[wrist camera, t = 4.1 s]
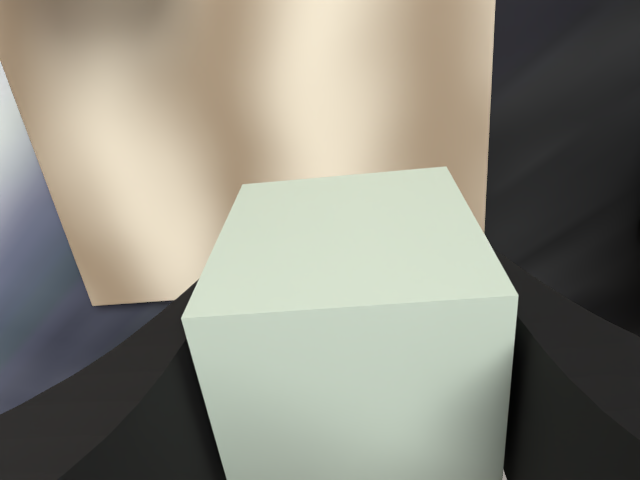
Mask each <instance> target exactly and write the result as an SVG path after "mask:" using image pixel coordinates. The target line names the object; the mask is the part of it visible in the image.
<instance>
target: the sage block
mask: <svg viewBox="0 0 640 480" xmlns="http://www.w3.org/2000/svg"><path fill="white" fill-rule="evenodd" d="M518 296H519V295H518V294H517V292H516V290H515V288H514V286H513V285H512V283H511V281H510V279H509V277H508V276H507V274H506V272H505V270H504V269H503V267H502V265H501V263H500V261H499V260H498V258H497V256H496V254H495V252H494V251H493V249H492V247H491V245H490V244H489V242H488V240H487V238H486V236H485V235H484V233H483V231H482V229H481V227H480V226H479V224H478V222H477V220H476V218H475V217H474V215H473V213H472V211H471V210H470V208H469V206H468V204H467V202H466V201H465V199H464V197H463V195H462V193H461V192H460V190H459V188H458V186H457V185H456V183H455V181H454V179H453V177H452V176H451V174H450V172H449V170H448V168H447V167H446V166H445V167H433V168H422V169H411V170H399V171H388V172H377V173H365V174H354V175H343V176H331V177H320V178H309V179H297V180H286V181H275V182H263V183H252V184H242V186H241V189H240V191H239V193H238V195H237V197H236V200H235V202H234V204H233V206H232V208H231V210H230V213H229V215H228V217H227V219H226V221H225V224H224V226H223V228H222V230H221V232H220V234H219V237H218V239H217V241H216V243H215V245H214V248H213V250H212V252H211V254H210V256H209V258H208V261H207V263H206V265H205V267H204V269H203V272H202V274H201V276H200V278H199V280H198V282H197V285H196V287H195V289H194V291H193V293H192V296H191V298H190V300H189V302H188V304H187V306H186V309H185V311H184V313H183V315H182V317H181V320H182V324H183V327H184V331H185V334H186V338H187V341H188V345H189V348H190V352H191V355H192V359H193V362H194V366H195V370H196V373H197V377H198V380H199V384H200V387H201V391H202V394H203V398H204V401H205V405H206V408H207V412H208V415H209V419H210V422H211V426H212V430H213V433H214V437H215V440H216V444H217V447H218V451H219V454H220V458H221V461H222V465H223V468H224V472H225V475H226V479H227V480H502V476H503V466H504V455H505V443H506V432H507V421H508V409H509V398H510V387H511V375H512V364H513V353H514V341H515V330H516V319H517V308H518Z"/></svg>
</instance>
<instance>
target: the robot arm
mask: <svg viewBox="0 0 640 480" xmlns="http://www.w3.org/2000/svg"><path fill="white" fill-rule="evenodd" d="M492 249H493V248H492ZM493 251H494V252H495V254H496V256H497V258H498V260H499V261H500V263H501V265H502V267H503V269H504V270H505V272H506V274H507V276H508V277H509V279H510V281H511V283H512V285H513V286H514V288H515V290H516V292H517V294H518V295H519V296H518V308H517V319H516V330H515V341H514V353H513V364H512V375H511V387H510V398H509V409H508V421H507V432H506V443H505V455H504V466H503V469H504V472H505V475H506V478H507V480H640V337H639V336H637V335H635V334H633V333H631V332H629V331H627V330H624V329H622V328H620V327H618V326H616V325H614V324H612V323H610V322H608V321H606V320H604V319H602V318H601V317H599V316H597V315H595V314H593V313H591V312H590V311H588V310H586V309H585V308H583V307H581V306H579V305H578V304H576V303H574V302H572V301H571V300H569V299H567V298H566V297H564V296H562V295H561V294H559V293H558V292H556V291H554V290H553V289H551V288H550V287H548V286H547V285H545V284H544V283H542V282H541V281H539V280H538V279H536V278H535V277H533V276H532V275H530V274H529V273H527V272H526V271H524V270H523V269H521V268H520V267H519V266H517V265H516V264H514V263H513V262H511V261H510V260H509V259H507V258H506V257H504V256H503V255H502V254H500V253H499V252H497V251H496V250H494V249H493ZM198 280H199V279H198ZM198 280H197V281H196V282H195V283H194V284H193V285H191V286H190V287H189V288H188V289H187V290H186V291H185V292H184V293H182V294H181V295H180V296H179V297H178V298H177V299H176V300H174V301H173V302H172V303H171V304H170V305H169V306H167V307H166V308H165V309H164V310H163V311H162V312H160V313H159V314H158V315H157V316H155V317H154V318H153V319H152V320H150V321H149V322H148V323H147V324H145V325H144V326H143V327H142V328H140V329H139V330H138V331H136V332H135V333H134V334H133V335H131V336H130V337H129V338H128V339H126V340H125V341H124V342H122V343H121V344H120V345H118V346H117V347H115V348H114V349H112V350H111V351H110V352H108V353H107V354H105V355H104V356H102V357H101V358H99V359H98V360H96V361H95V362H93V363H92V364H90V365H88V366H87V367H85V368H84V369H82V370H81V371H79V372H77V373H76V374H74V375H73V376H71V377H69V378H67V379H66V380H64V381H62V382H60V383H58V384H57V385H55V386H53V387H51V388H50V389H48V390H46V391H44V392H42V393H41V394H39V395H37V396H35V397H33V398H32V399H30V400H28V401H26V402H24V403H23V404H21V405H19V406H17V407H15V408H13V409H11V410H9V411H7V412H5V413H3V414H1V415H0V480H227V479H226V475H225V472H224V468H223V465H222V461H221V458H220V454H219V451H218V447H217V444H216V440H215V437H214V433H213V430H212V426H211V422H210V419H209V415H208V412H207V408H206V405H205V401H204V398H203V394H202V391H201V387H200V384H199V380H198V377H197V373H196V370H195V366H194V362H193V359H192V355H191V352H190V348H189V345H188V341H187V338H186V334H185V331H184V327H183V324H182V320H181V317H182V315H183V313H184V311H185V309H186V306H187V304H188V302H189V300H190V298H191V296H192V293H193V291H194V289H195V287H196V285H197V282H198Z"/></svg>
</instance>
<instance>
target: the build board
mask: <svg viewBox="0 0 640 480" xmlns="http://www.w3.org/2000/svg"><path fill="white" fill-rule="evenodd" d="M494 19H495V0H0V61H1V64H2V66H3V69H4V72H5V74H6V77H7V79H8V82H9V85H10V87H11V90H12V93H13V95H14V98H15V101H16V103H17V106H18V109H19V111H20V114H21V117H22V119H23V122H24V125H25V127H26V130H27V133H28V135H29V138H30V141H31V143H32V146H33V149H34V151H35V154H36V157H37V159H38V162H39V165H40V167H41V170H42V173H43V175H44V178H45V181H46V183H47V186H48V189H49V191H50V194H51V196H52V199H53V202H54V204H55V207H56V210H57V212H58V215H59V218H60V220H61V223H62V226H63V228H64V231H65V234H66V236H67V239H68V242H69V244H70V247H71V250H72V252H73V255H74V258H75V260H76V263H77V266H78V268H79V271H80V274H81V276H82V279H83V282H84V284H85V287H86V290H87V292H88V295H89V298H90V300H91V303H92V306H99V305H113V304H126V303H140V302H154V301H168V300H176V299H177V298H178V297H179V296H180V295H181V294H182V293H184V292H185V291H186V290H187V289H188V288H189V287H190V286H191V285H193V284H194V283H195V282H196V281H197V280H198V279H199V278H200V276H201V274H202V272H203V269H204V267H205V265H206V263H207V261H208V258H209V256H210V254H211V252H212V250H213V248H214V245H215V243H216V241H217V239H218V237H219V234H220V232H221V230H222V228H223V226H224V224H225V221H226V219H227V217H228V215H229V213H230V210H231V208H232V206H233V204H234V202H235V200H236V197H237V195H238V193H239V191H240V189H241V186H242V184H252V183H263V182H275V181H286V180H297V179H309V178H320V177H331V176H343V175H354V174H365V173H377V172H388V171H399V170H411V169H422V168H433V167H445V166H446V167H447V168H448V170H449V172H450V174H451V176H452V177H453V179H454V181H455V183H456V185H457V186H458V188H459V190H460V192H461V193H462V195H463V197H464V199H465V201H466V202H467V204H468V206H469V208H470V210H471V211H472V213H473V215H474V217H475V218H476V220H477V222H478V224H479V226H480V227H481V229H482V231H483V233H484V226H485V206H486V185H487V164H488V143H489V123H490V102H491V81H492V61H493V40H494Z"/></svg>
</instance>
